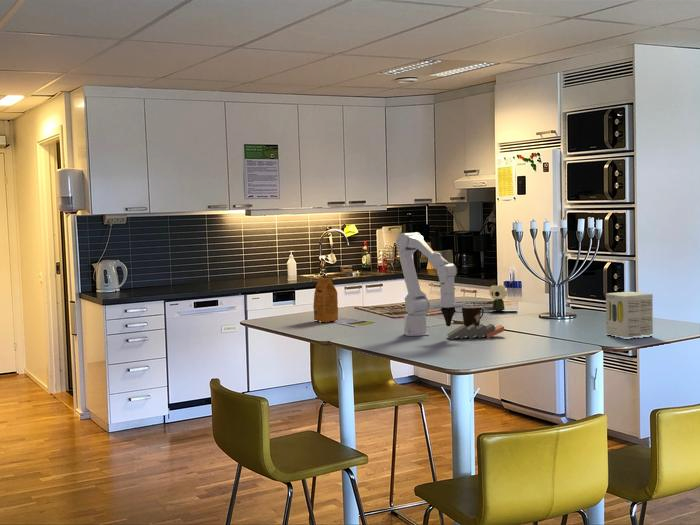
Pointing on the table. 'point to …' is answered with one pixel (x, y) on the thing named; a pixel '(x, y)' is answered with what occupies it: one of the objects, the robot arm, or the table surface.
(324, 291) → the coffee package
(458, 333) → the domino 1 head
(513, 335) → the table surface
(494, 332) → the red domino
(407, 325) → the robot arm
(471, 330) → the domino
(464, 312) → the coffee mug
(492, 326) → the domino
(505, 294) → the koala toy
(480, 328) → the domino
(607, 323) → the supplement box
